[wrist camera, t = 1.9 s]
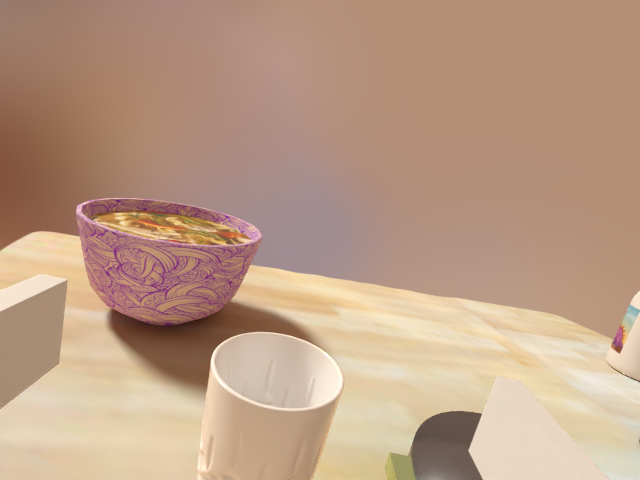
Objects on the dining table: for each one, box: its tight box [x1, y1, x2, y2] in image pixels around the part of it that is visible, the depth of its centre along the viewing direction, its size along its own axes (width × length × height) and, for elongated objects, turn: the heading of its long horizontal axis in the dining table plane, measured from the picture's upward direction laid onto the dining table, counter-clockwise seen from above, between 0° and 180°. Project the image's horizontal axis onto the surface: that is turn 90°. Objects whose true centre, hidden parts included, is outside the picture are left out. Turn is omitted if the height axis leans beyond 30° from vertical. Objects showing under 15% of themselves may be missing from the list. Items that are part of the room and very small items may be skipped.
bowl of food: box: [76, 198, 262, 325], centre depth 45 cm, size 20×20×12 cm
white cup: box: [197, 332, 344, 480], centre depth 23 cm, size 8×8×10 cm
